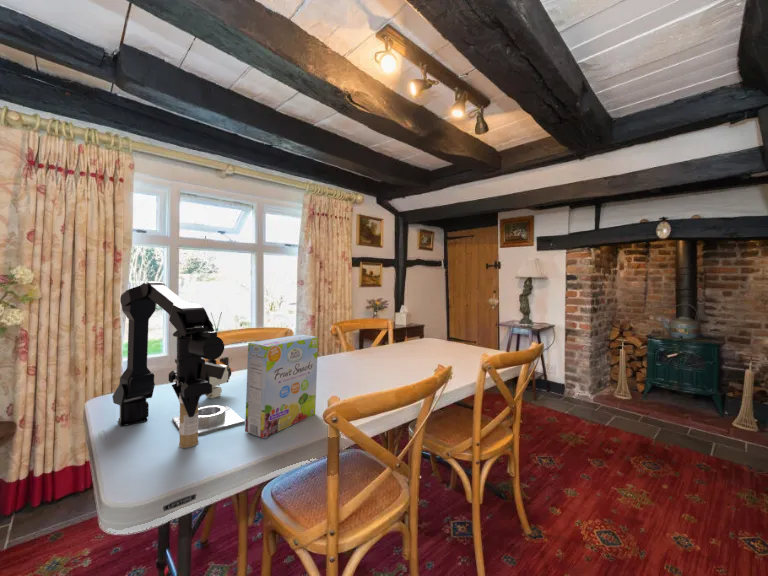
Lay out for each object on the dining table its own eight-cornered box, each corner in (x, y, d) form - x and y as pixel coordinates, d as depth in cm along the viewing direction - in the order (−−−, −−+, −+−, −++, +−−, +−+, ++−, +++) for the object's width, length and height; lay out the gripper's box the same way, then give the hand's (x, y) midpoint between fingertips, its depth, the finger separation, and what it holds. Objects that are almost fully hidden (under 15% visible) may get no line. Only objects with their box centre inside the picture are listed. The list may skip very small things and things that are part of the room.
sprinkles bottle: (179, 442, 92) (179, 392, 92) (198, 439, 94) (199, 389, 94) (178, 450, 88) (178, 397, 88) (198, 446, 90) (199, 394, 90)
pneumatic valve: (194, 400, 123) (194, 366, 123) (223, 391, 133) (223, 360, 133) (204, 403, 121) (204, 369, 120) (233, 393, 131) (233, 362, 131)
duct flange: (185, 438, 94) (185, 426, 94) (172, 420, 106) (172, 409, 106) (244, 423, 105) (245, 412, 105) (227, 408, 117) (227, 398, 117)
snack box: (265, 440, 94) (266, 346, 93) (243, 433, 98) (244, 342, 98) (318, 414, 113) (319, 335, 112) (297, 409, 117) (298, 333, 116)
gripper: (233, 357, 89) (233, 417, 89) (211, 345, 103) (211, 397, 103) (184, 363, 81) (184, 429, 82) (168, 350, 95) (168, 406, 96)
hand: (189, 414), depth 91 cm, fingers closed on sprinkles bottle, 4 cm apart
